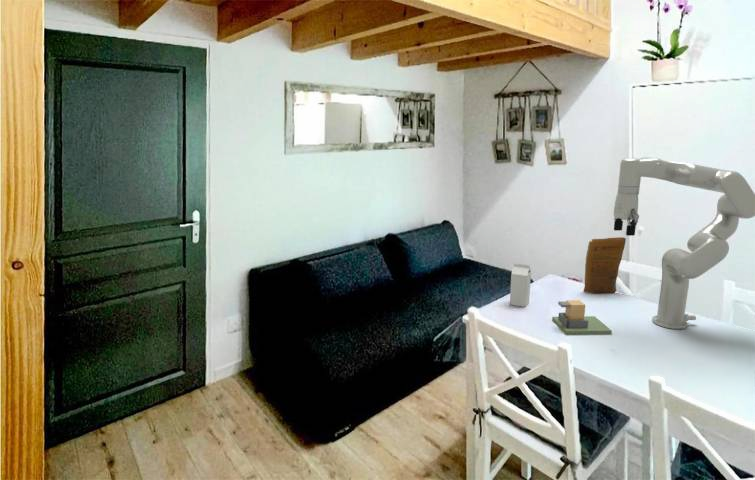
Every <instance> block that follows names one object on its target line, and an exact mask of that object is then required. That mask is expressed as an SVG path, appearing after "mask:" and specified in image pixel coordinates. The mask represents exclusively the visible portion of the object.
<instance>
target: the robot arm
mask: <svg viewBox="0 0 755 480" xmlns="http://www.w3.org/2000/svg"><path fill="white" fill-rule="evenodd" d="M618 175H619V176H618V186H617V194H616V198H615V200H614V208H613V217H614V219H613V220H614V222H613V223H614V224H613V231H622V230H623V225H624V221H627V224H626V231H625V235H626V236H633V237H634V236H635V235H636V229H637V228H636V227H637V224H638V222H639V219H640V215H639V213H638V212H639V195H640V189H641V181H642V180H641V179H642V178H643V177H644V178H651V179H655V180H656V179H657V180H662V181H666V182H670V183H673V184H676V185H681V186H684V187H692V188H697V189H701V190H707V191H712V192H716V193H723V195H721V196H720V197H719V199H717V204H716V215H715V217H714V218H713V220H712V221H711V222H709V224H707V225H706V226H704V227H703V228H702V229H700V230H698V231H697V232H696V233H694V235H692V236H691V237H690V238H689V239H688V240H687V244H686V245H687V248H688V250H689V251H687V250H685V249H681V248H679V247H678V248H677V247H673V248H670V249H668V250H666V251H665V253H664V254H663V256H662V257H661V281H660V282H661V283H660V289H659V290H660V292H659V299H658V306H657V315H655V316H652V319H651V320H652V322H653V323H654V324H656V326H660V327H663V328H666V329H673V330H682V329H683V330H684V329H686V328H688V326H689V323H688V321H696V320H697V316H696V315H689V314H688V313H686V308H687V307H686V306H687V301H688V300H687V299H688V293H689V287H690V280H692V279H693V280H694V279H697V278H699V277H700V276H702V275H704V274H705V273H707V272H708V271H709V270H711V269H712V268H714V267H715V266H716V265H718V264H719V263H721V262H722V261H724V260H725V258H726V257H727V255H728V254H729V250H730V246H729V243H728V241H727V240H728V239H729V238H730V237H732V236H733V235H734V234H735V233H736V231H737V229H738V226H739V221H740V219H743V220H744V219H746V220H747V219H751V218H754V217H755V191H753V189H752V187H751V185H750V184H749V182H748V181H747V180H746V178H745V177H744V176H743V175H742V174H741V173H740V172H737V171H736V170H735V171H734V170H726V169H720V168H714V167H709V166H704V165H700V164H695V163H687V162H677V161H676V162H675V161H669V160H668V161H667V160H664V159H663V160H662V159H661V158H658V157H649V156H644V157H640V158H631V157H630V158H629V157H627V158H623V159H621V161H620V166H619V174H618Z"/></svg>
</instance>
